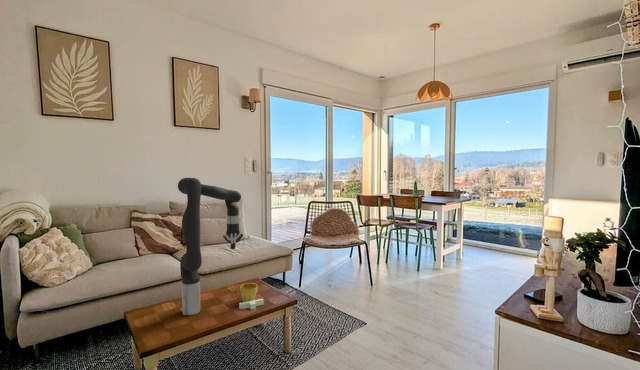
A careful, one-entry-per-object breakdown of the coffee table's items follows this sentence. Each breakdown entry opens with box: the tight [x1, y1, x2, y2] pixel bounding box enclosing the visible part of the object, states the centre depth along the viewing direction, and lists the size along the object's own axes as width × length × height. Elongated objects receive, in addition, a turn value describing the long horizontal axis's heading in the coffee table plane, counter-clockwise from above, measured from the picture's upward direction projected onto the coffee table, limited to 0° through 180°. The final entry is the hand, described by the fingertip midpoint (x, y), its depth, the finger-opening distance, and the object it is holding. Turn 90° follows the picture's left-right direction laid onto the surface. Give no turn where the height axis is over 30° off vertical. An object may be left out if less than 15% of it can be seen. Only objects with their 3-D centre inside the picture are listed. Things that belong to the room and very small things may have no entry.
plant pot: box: [239, 282, 259, 302], centre depth 186 cm, size 10×10×10 cm
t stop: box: [238, 298, 265, 310], centre depth 179 cm, size 14×5×3 cm, turn 117°
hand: (233, 249), depth 196 cm, fingers closed
